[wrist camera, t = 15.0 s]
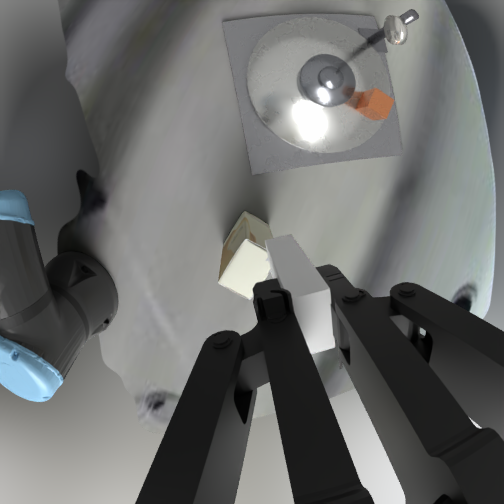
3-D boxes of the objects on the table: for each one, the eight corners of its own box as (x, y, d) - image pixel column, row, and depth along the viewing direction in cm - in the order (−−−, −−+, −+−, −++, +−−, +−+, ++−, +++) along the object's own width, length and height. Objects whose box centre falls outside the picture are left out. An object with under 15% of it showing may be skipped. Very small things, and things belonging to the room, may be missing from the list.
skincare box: (244, 209, 42) (246, 234, 30) (270, 224, 43) (282, 255, 31) (221, 246, 43) (215, 284, 32) (246, 260, 44) (250, 302, 33)
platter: (354, 177, 39) (369, 182, 34) (222, 114, 36) (219, 109, 31) (402, 66, 33) (421, 59, 28) (282, 0, 30) (288, -17, 25)
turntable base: (251, 174, 40) (252, 175, 39) (222, 24, 32) (222, 21, 31) (399, 154, 40) (403, 155, 39) (372, 18, 32) (374, 15, 31)
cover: (336, 117, 35) (347, 114, 31) (288, 93, 34) (294, 87, 30) (354, 75, 33) (366, 69, 29) (308, 51, 32) (316, 41, 28)
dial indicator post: (364, 61, 34) (408, 37, 22) (356, 29, 33) (395, -2, 20) (386, 62, 34) (434, 41, 22) (378, 31, 32) (422, 3, 20)
